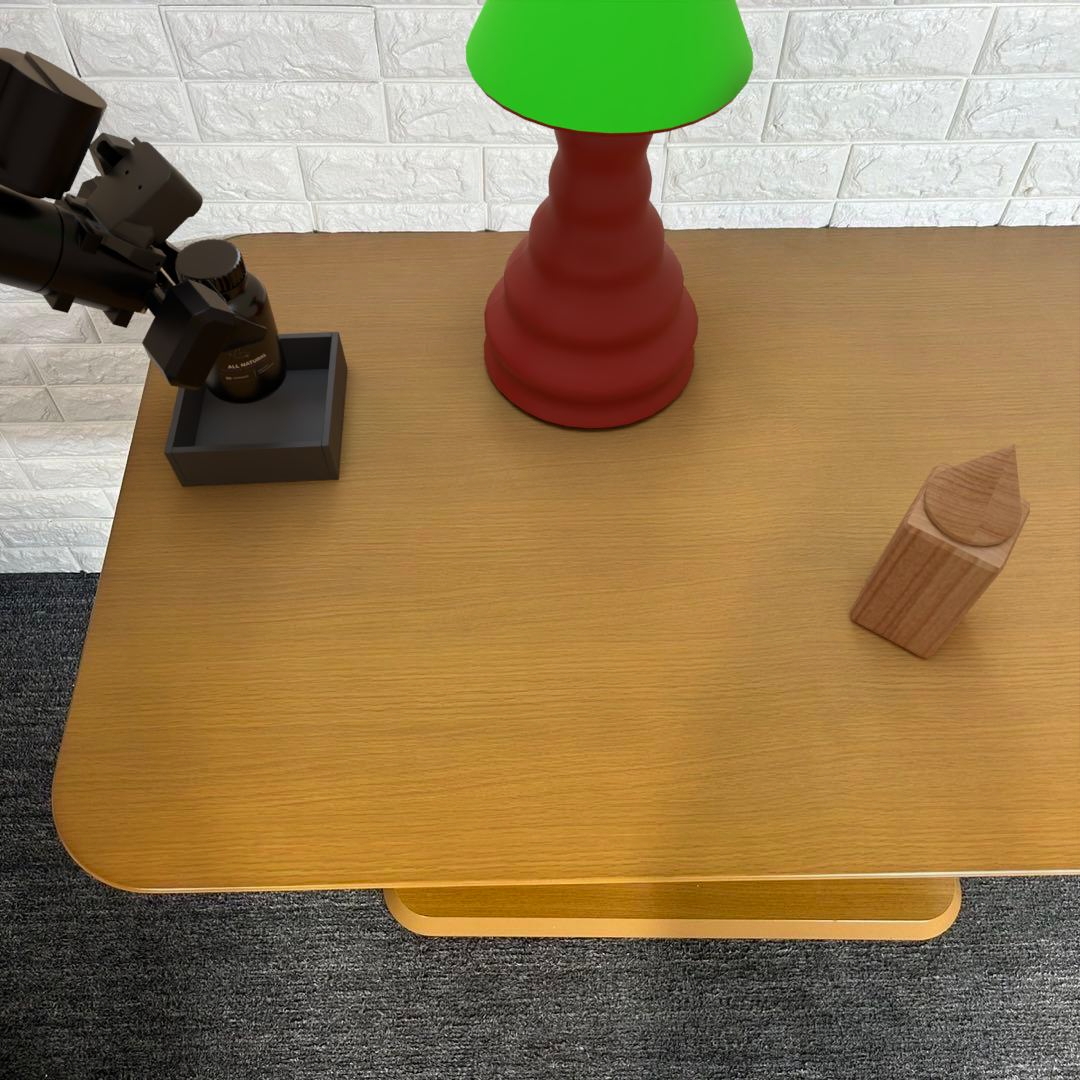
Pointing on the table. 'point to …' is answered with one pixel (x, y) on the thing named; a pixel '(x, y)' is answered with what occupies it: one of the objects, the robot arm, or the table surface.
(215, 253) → the supplement bottle
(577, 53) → the table lamp
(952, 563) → the decorative item
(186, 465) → the bin
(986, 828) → the table surface
